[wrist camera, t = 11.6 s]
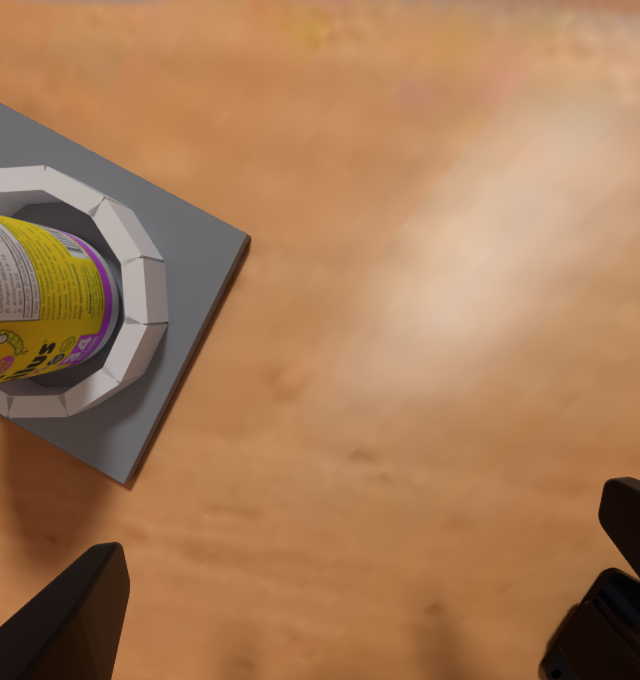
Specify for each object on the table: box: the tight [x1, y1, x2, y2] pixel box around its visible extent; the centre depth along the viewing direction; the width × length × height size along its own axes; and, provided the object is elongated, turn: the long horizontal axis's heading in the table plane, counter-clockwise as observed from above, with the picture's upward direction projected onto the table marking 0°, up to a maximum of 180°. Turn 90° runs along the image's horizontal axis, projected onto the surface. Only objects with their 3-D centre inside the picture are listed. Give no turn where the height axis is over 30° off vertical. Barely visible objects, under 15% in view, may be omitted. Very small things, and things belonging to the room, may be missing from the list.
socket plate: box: [0, 103, 251, 484], centre depth 19 cm, size 14×14×3 cm
